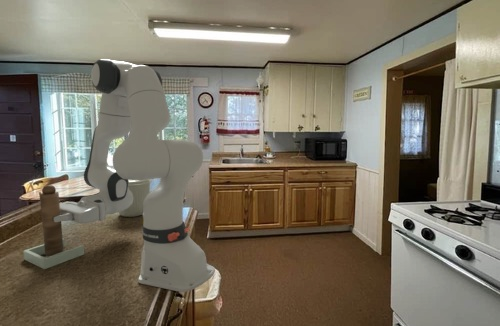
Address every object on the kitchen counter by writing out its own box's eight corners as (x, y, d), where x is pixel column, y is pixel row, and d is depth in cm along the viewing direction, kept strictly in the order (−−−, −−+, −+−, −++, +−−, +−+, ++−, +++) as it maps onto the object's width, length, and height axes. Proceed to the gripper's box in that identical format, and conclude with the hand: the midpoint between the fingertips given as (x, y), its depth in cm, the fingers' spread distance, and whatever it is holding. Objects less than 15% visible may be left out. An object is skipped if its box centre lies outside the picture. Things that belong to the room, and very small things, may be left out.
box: (84, 254, 96) (83, 245, 96) (44, 269, 86) (43, 259, 85) (63, 246, 102) (62, 238, 102) (24, 259, 92) (23, 250, 92)
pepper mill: (66, 251, 95) (60, 184, 92) (50, 257, 91) (43, 187, 88) (58, 248, 97) (52, 182, 95) (42, 253, 93) (35, 185, 90)
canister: (140, 220, 131) (138, 175, 128) (105, 218, 134) (102, 174, 131) (159, 209, 149) (157, 169, 146) (127, 208, 152) (125, 169, 149)
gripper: (74, 195, 108) (31, 204, 96) (106, 202, 98) (64, 213, 86) (75, 211, 109) (33, 222, 97) (108, 220, 99) (66, 233, 87)
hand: (48, 218), depth 92 cm, fingers closed on pepper mill, 5 cm apart
